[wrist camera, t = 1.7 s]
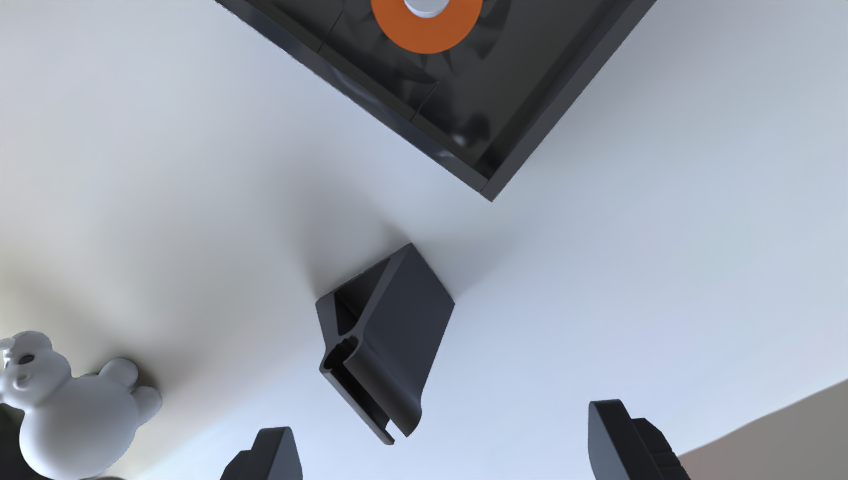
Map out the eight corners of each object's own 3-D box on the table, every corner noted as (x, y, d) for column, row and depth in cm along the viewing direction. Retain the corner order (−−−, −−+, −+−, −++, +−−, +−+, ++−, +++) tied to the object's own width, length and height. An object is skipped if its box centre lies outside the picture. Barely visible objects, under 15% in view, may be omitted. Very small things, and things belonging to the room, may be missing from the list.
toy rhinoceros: (85, 287, 38) (-4, 351, 30) (181, 400, 42) (125, 483, 34) (15, 324, 39) (-88, 395, 31) (114, 430, 43) (45, 517, 35)
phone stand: (361, 355, 40) (336, 474, 29) (315, 300, 39) (271, 405, 27) (455, 301, 39) (467, 406, 27) (412, 241, 37) (406, 328, 26)
